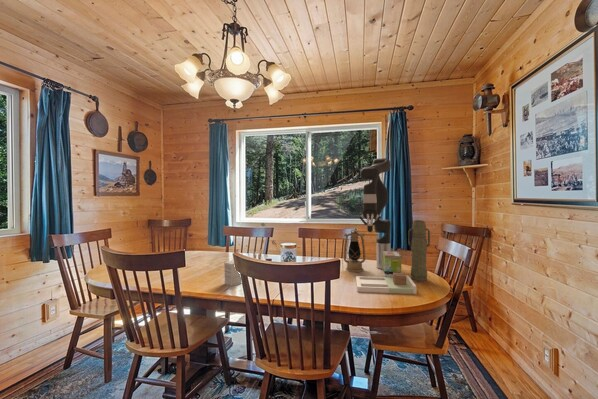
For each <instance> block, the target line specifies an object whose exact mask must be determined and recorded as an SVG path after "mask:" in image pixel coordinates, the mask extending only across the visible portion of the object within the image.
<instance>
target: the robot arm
mask: <svg viewBox="0 0 598 399" xmlns="http://www.w3.org/2000/svg"><path fill="white" fill-rule="evenodd" d="M390 170H391V160H390V159H389V158H387V157H384V158H382V157H381V158H379V157H378V158H374V159H373V160H372V165H370V166H365V167H363V168H362V169H361V170H360V172H359V175H360V178H361V180H364V181H365V180H366V181H371V182H369V183H365V184H364V185H363V198H362V202H363V203H362V208H363V209H362V213H361V214H360V215H359V216H358V217H359V219H360V221H362V223H363V224H364V225H365V226H367V228H366V229H367V232H368V233H372V232H375V233H376V234H379V233H380V234H384V235H383V236H380V237H377V238H376V268H377V269H380V270H381V269H382V270H383V251H391V229H392V225H391V220H390V219H382V216H381V214H382V213H383V211H384V208H385V207H386V206H387V204H388V203H389V191H388V189H387V187H386V186H385V184H384V182H383V181H382V180H381V179H382V178H381V177H380V174H383V173H389V171H390ZM364 219H366V221H365V220H364ZM373 227H374V228H373ZM373 229H374V231H373Z"/></svg>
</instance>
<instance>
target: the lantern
mask: <svg viewBox="0 0 598 399" xmlns="http://www.w3.org/2000/svg"><path fill="white" fill-rule="evenodd" d="M354 226H355V227H356V225H353V227H354ZM350 232H351V233H344V234H343V235H344V238H343V239H344V240H343V241H344V247H343V261H344V262H345V263H347V264H346V265H347V266H346V268H345V270H346V271H348V272H354V273H358V272H359V273H360V272H364V267H363V263H364V262H365V261H366V249H365V238H364V237H365V234H364V233H358V232H359V230H358V229H357V228H353V229H350ZM349 236H350V237H349ZM359 236H360V237H359ZM348 238H349V239H350V242H349V245H347V243H348ZM359 239H360V240H361V245H362V247H361V246H360V244H359ZM361 248H362V249H361ZM347 249H348V250H347ZM361 250H362V251H361ZM347 254H348V260H347V258H346V257H347ZM361 255H363V256H362V257H361Z"/></svg>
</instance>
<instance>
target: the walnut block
mask: <svg viewBox="0 0 598 399" xmlns="http://www.w3.org/2000/svg"><path fill="white" fill-rule="evenodd" d="M406 276H407V275H406V273H405V272H401V273H393V282H394V285H406Z"/></svg>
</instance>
